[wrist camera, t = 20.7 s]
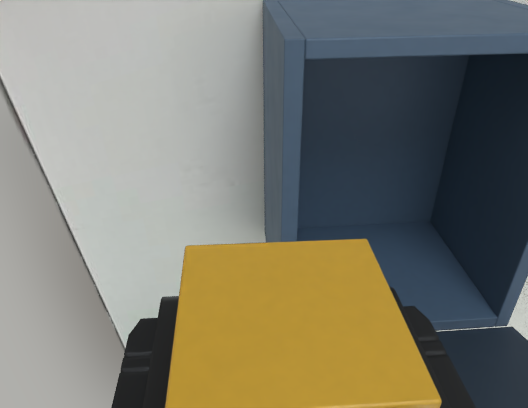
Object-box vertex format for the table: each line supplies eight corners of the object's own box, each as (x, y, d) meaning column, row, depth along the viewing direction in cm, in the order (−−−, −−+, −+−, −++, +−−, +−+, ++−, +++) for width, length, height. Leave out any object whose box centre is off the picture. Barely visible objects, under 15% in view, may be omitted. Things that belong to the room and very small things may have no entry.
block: (198, 366, 13) (186, 547, 9) (185, 244, 11) (162, 419, 7) (347, 357, 13) (397, 529, 9) (367, 237, 11) (444, 401, 7)
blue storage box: (262, -1, 25) (284, 39, 16) (488, -5, 26) (629, 30, 17) (264, 231, 34) (279, 341, 25) (433, 223, 35) (507, 326, 26)
